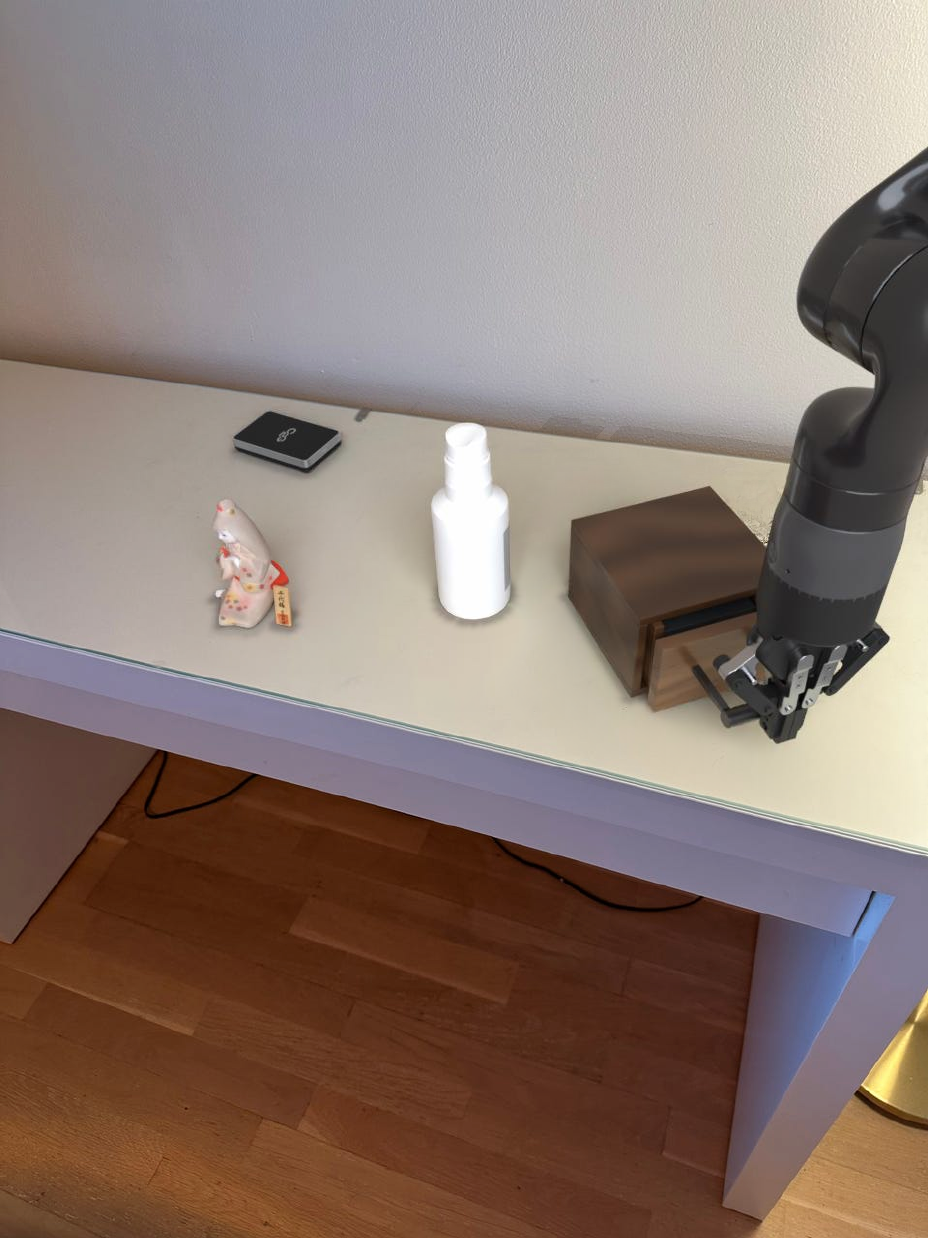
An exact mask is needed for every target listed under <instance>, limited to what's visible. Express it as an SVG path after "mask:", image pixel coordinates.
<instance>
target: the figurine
mask: <svg viewBox="0 0 928 1238" xmlns="http://www.w3.org/2000/svg"><path fill="white" fill-rule="evenodd" d="M211 523H212V529H213V530H214V531H215V532H216V533H217V536H218V538H219V539H220V541H222V543H221V546H220V548H219V550H218V552H217V553H216V554H217V555H216V557H215V562H216V565H217V567H219V568H220V569H221V570H220V580H222V581H224V580H229V579H231V581H229V586H228V588H227V589H225V588H223V589H217V590H216V591H215V597H216V598H221V602H220V610H219V613H218V625H219V626H222V627H224V626H225V627H227V626H237V627H241V628H245V629H246V628H247V629H251V628H254V627H255V626H256V625H258V624H259V623H260V622H261V621H262V620H263V619H264V618H265V616H266V615H267V614H268V613H269V612H270V609H271V607H272V606H273V603H274V612H275V623H276V624H277V625H279V626H284V627H285V626H286V627H289V628H290V627H291V628H292V625H293V622H292V621H293V620H292V619H293V618H292V615H293V611H292V609H291V608H292V606H291V594H290V587H288V586H285V585H288V584H289V583H290V578H289V577H288V575H287V573H286V571H285V570H284V569H283V567H282V566H281V565H280V564H279V563H278V562H277V561H276V560H272V552H271V549H270V546H269V544H268V542H267V540H266V539H265V536H264V535H263V534H262V532H261V530H260V529H259V527H258V526H257V524H256V523H255V522H254V521H253V519H252V518H251V517H250V516H249V515H248V514H247V513H246V512H245V511H244V510H243V509H242V508H241V507H239V506H237V503H236V502H235V501H234V499H232V498H229V497H224V498H222V499H220V500H219V501H218V502H217V504H216V513H215V515H214V517H213V519H212V522H211Z"/></svg>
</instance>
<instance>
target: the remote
mask: <svg viewBox="0 0 928 1238" xmlns="http://www.w3.org/2000/svg"><path fill="white" fill-rule="evenodd" d="M755 609H756V606H755V605H754V603H753V602H752V601H751V600H750V599H749V597H745V598H741V599H738V600H734V601H730V602H727V603H723V604H719V605H716V606H712V607H709V608H705V609H701V610H698V611H694V612H690V613H687V614H683V615H679V616H676V617H672V618H669V619H665V620H661V622H662V623H663V624H664V632H663V638H664V637H668V636H671V635H675V634H678V633H682V632H686V631H689V630H693V629H696V628H700V627H704V626H707V625H711V624H714V623H718V622H721V621H725V620H729V619H732V618H736V617H739V616H743V615H746V614H750V613H754V612H755Z"/></svg>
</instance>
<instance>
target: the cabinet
mask: <svg viewBox="0 0 928 1238" xmlns="http://www.w3.org/2000/svg"><path fill="white" fill-rule="evenodd" d="M569 538H570V539H569V568H568V569H569V570H568V592H567V595H568V596H567V597H568V599H569V600H570V602H571V603H572V605H573V607H574V608H575V610H576V612H577V613H578V614H579V616H580V618H581V619H582V621H583V624H585V626H586V627H587V629H588V631H589V632H590V634H591V635H592V637H593V639H594V640H595V642H596V644H597V645H598V646H599V649H600V650H601V652H602V653H603V655H604V657H605V658H606V659H607V661H608V663H609V664H610V666H611V668H612V669H613V671H614V673H615V674H616V676H617V677H618V679H619V681H620V682H621V684H622V685H623V687H624V689H625V690H626V692H627V693H628V695H629V697H630V698H634V697H638V696H642V695H645V694H649V686H648V685H647V684H646V682H645V681H644V679H643V678H642V669H643V661H644V653H645V644H646V636H647V628H648V624H650V623H654V622H658V621H661V620H665V619H669V618H672V617H676V616H679V615H683V614H687V613H690V612H694V611H698V610H701V609H705V608H709V607H712V606H716V605H719V604H723V603H727V602H730V601H734V600H738V599H741V598H745V597H748V596H752V595H756V592H757V587H758V583H759V579H760V574H761V570H762V565H763V561H764V556H765V552H766V547H767V545H765V544H764V543H763V542H762V541H761V539H760V538H759V537H758V536H756V534H755V533H754V532H753V531H752V530H751V529H750V528H749V527H748V525H747V524H746V523H744V521H743V520H742V519H741V518H740V516H739V515H737V514H736V513H735V511H734V510H733V509H732V507H730V506H729V505H728V504H727V503H726V502H725V500H723V498H722V497H721V496H720V495H719V493H717V492H716V491H715V489H714V488H713V487H712V486H711V485H707V486H702V487H700V488H695V489H690V490H687V491H683V492H678V493H675V494H671V495H667V496H662V497H660V498H654V499H651V500H647V501H643V502H639V503H635V504H630V505H625V506H623V507H619V508H615V509H610V510H605V511H602V512H598V513H594V514H589V515H586V516H583V517H582V516H581V517H578V518H574V519H571V521H570V537H569Z"/></svg>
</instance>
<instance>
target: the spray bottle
mask: <svg viewBox="0 0 928 1238" xmlns="http://www.w3.org/2000/svg"><path fill="white" fill-rule="evenodd" d="M444 441H445V453H444V456H443V463H444V486H443V487H441V488H440V489H439V490H437V492H436V493H435V494H434V495H433V497H432V500H431V504H430V514H431V525H432V536H433V548H434V558H435V569H436V581H437V591H438V598H439V602H440V604H441V605H442V606H443V608H444V609H445V610H446V612H448V613H450V614H451V615H453V616H454V617H457V618H461V619H464V620H481V619H486V618H487V619H488V618H490V617H492V616H495V615H497V614H498V613H499V612H501V611H502V610H503V609H504V608H505V607H506V605H507V604H508V602H509V601H510V599H511V591H512V590H511V589H512V588H511V540H510V537H511V536H510V535H511V533H510V502H509V499H508V495H507V494H506V492H505V491H504V490H503V489H502V488H501V487H500V486H499V485H496V484H494V483H493V475H492V463H491V460H492V459H491V453H490V450H489V448H488V432H487V430H486V428H485V427H484V426H482V425H481V424H479V423H476V422H459V423H456V424H453V425H452V426H450V427H449V428H447V430H446V431H445V434H444Z"/></svg>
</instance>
